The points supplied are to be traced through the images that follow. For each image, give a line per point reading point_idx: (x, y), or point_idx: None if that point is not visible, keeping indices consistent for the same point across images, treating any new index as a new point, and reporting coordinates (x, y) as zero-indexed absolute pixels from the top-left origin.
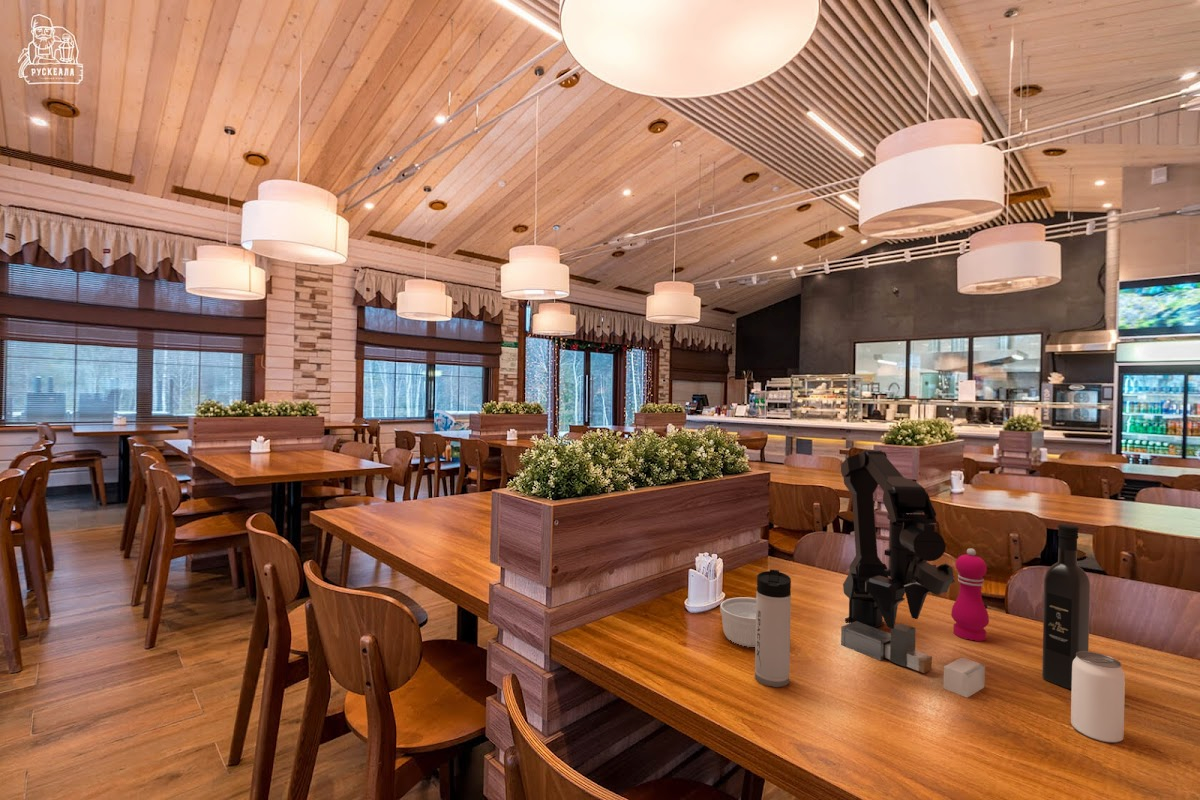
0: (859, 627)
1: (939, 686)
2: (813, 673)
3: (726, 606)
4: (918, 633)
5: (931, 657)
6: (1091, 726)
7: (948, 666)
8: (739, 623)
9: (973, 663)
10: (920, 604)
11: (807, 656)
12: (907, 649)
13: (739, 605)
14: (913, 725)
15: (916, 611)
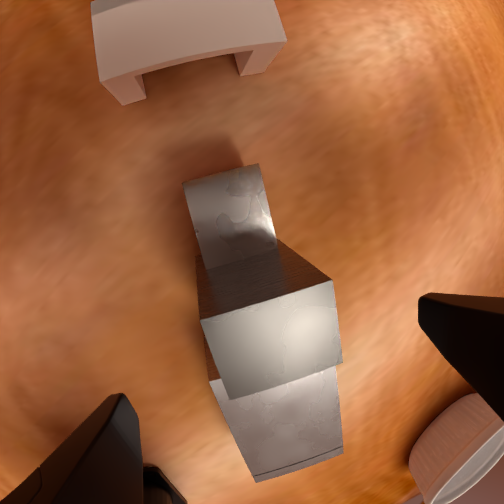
0: (293, 448)
1: (263, 87)
2: (487, 281)
3: (471, 476)
4: (21, 411)
5: (187, 181)
6: None
7: (266, 32)
8: None
9: (117, 20)
10: (79, 468)
11: (442, 359)
12: (271, 256)
13: (445, 490)
14: (463, 35)
15: (116, 433)
